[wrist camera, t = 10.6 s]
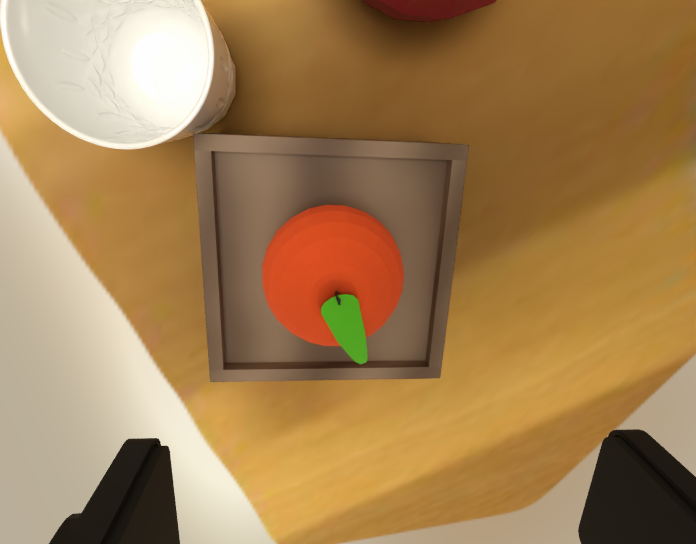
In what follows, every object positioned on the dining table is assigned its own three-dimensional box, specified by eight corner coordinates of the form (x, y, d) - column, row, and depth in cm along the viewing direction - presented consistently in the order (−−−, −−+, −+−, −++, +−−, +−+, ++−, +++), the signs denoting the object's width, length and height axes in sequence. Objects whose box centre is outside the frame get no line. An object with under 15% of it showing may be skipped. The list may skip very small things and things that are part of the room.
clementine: (409, 304, 26) (446, 364, 19) (301, 343, 26) (299, 416, 19) (367, 177, 23) (392, 193, 16) (248, 220, 23) (224, 255, 16)
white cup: (246, 147, 28) (216, 155, 18) (119, 138, 27) (18, 142, 17) (246, 9, 25) (210, -64, 16) (106, -5, 24) (-20, -92, 15)
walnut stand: (432, 142, 29) (469, 145, 22) (413, 330, 33) (439, 378, 26) (219, 133, 27) (193, 133, 21) (229, 331, 31) (210, 382, 25)
